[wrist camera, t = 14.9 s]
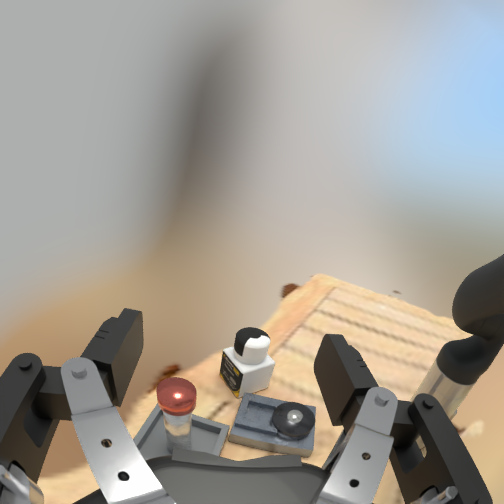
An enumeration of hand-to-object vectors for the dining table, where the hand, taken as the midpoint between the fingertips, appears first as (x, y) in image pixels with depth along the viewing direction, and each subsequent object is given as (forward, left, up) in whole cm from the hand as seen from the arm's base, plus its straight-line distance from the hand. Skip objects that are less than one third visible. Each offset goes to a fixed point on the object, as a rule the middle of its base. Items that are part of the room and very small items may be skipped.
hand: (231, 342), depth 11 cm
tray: (+7, -11, -32) cm, 34 cm away
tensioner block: (-6, -20, -32) cm, 38 cm away
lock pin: (+7, -11, -31) cm, 34 cm away
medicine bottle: (+2, -30, -32) cm, 44 cm away
